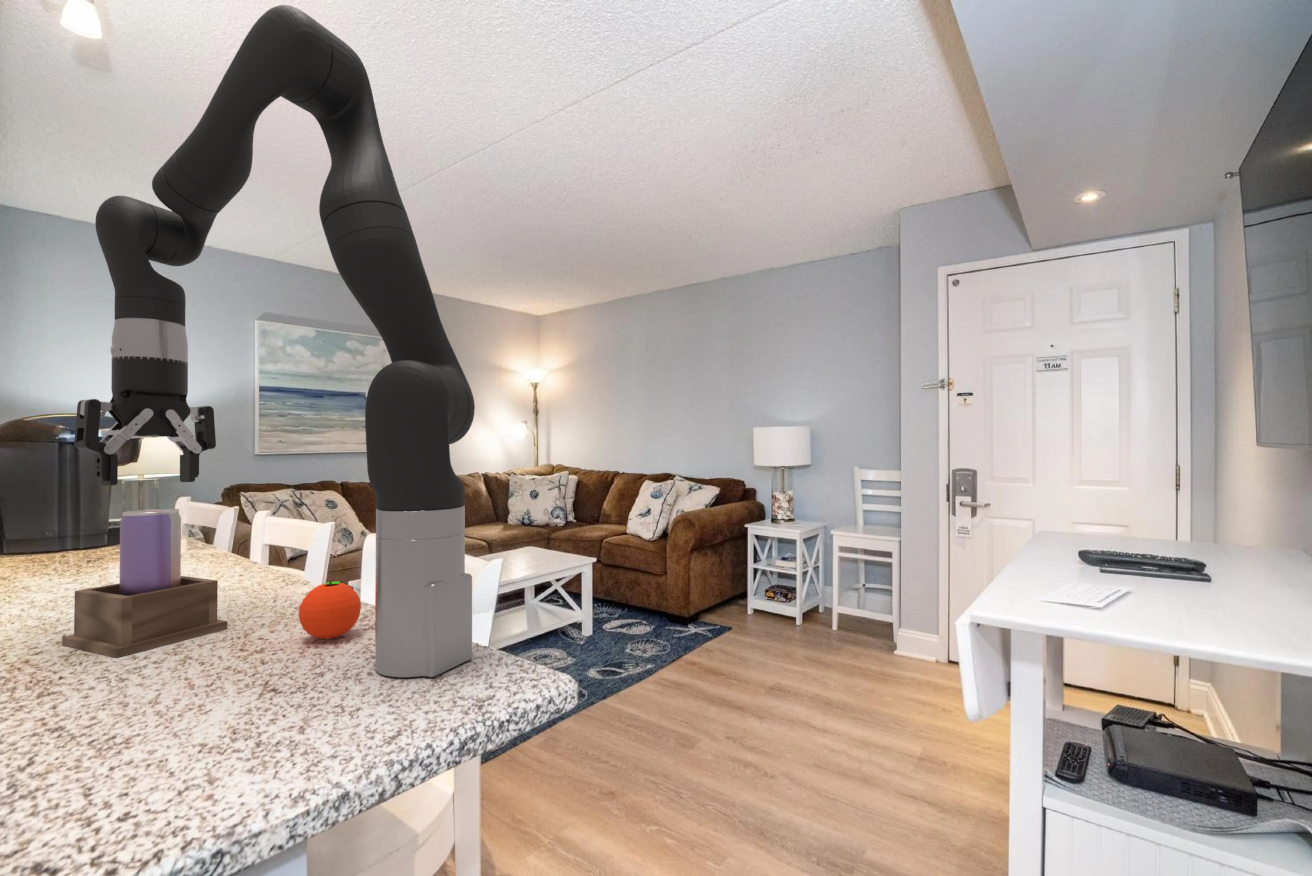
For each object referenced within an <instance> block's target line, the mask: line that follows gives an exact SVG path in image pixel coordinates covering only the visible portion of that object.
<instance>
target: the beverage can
mask: <svg viewBox="0 0 1312 876" xmlns="http://www.w3.org/2000/svg"><path fill="white" fill-rule="evenodd" d="M121 515H122V517H121V519H120V522H119V583H120V586H119V595H124V596H130V595H136V594H141V593H146V592H152V591H157V590H162V589H168V588H173V587H178V586H181V576H182V575H181V571H182V570H181V569H182V568H181V567H182V566H181V563H182V561H181V559H182V558H181V557H182V556H181V555H182V554H181V553H182V551H181V550H182V547H181V546H182V517H181V515H180V509H179V508H158V509H141V510H140V509H139V510H129V511H128V510H127V511H123V512H122V513H121Z"/></svg>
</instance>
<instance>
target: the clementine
mask: <svg viewBox="0 0 1312 876" xmlns="http://www.w3.org/2000/svg"><path fill="white" fill-rule="evenodd" d="M298 609H299V610H298V619H299V622H300V624H301V627H302V629H303V631H305V632H306V633H307V634H308V635H310V636H311V637H314V638H316V639H321V640H331V639H336V638H338V637H340V636H342V635H345V634H346V633H347V632H349V631H350V630H351V629H353V627H354V626H355V625H356V624H357V622H358V619H359V618H360V615H361V610H362V605H361V599H360V597H359V595H358V593H357V592H356V591H355V590H354V588H352V587H351V586H350V585H348V584H346V583H342V581H339V580H338V581H327V582H326V583H322V584H319V585H316V587H314V588H312V589H311V590H310V591H309V592H308V593H306V595H305V596H304V597H303V599H302V601H301V603H300V606H299V608H298Z"/></svg>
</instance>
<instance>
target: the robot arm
mask: <svg viewBox="0 0 1312 876" xmlns="http://www.w3.org/2000/svg"><path fill="white" fill-rule="evenodd" d="M368 75H369V74H368V72H367V70H366V67H365V65H364V63H363V62H362V60H361V58H360V56H359V55H358V54H357V52H355V50H354V49H352V48H351V46H349V45H348V44H347V43H346V42H345V41H343V40H342V39H341V38H339V37H338V36H337V35H336V34H335V33H333V32H332V31H330V30H329V29H328V28H326V27H325V26H324V25H322V24H321V23H320V22H318V21H317V20H315V18H313V17H311V16H310V15H308V14H307V13H306V12H304V11H302V10H301V9H299V8H297V7H294V6H293V5H288V4H279V5H277V6H273V7H271V8H269V9H268V10H267V11H265V13H263V14H262V15H261V16H260V17H259V18H257V20H256V22H255V23H254V24H253V25H252V26H251V28H250V30H249V31H248V33H247V34H246V36H245V38H244V39H243V41H242V43H241V44H240V46H239V48H238V50H237V52H236V54H235V55H234V57H233V59H232V61H231V63H230V65H229V66H228V68H227V70H226V72H225V73H224V75H223V77H222V79H221V81H220V82H219V85H218V86H217V88H216V90H215V92H214V94H213V95H212V98H211V99H210V101H209V104H207V105H208V106H207V107H206V109H205V111H204V112H203V114H202V116H201V118H200V119H199V122H198V123H197V124H196V126H195V127H194V129H193V130H192V131H191V132H190V134H189V135H188V136H187V138H186V139H185V140H184V141H183V142H182V143H181V144H180V145H179V147H178V148H177V149H176V150H175V151H174V152H173V153H172V155H171V156H170V157H169V158H168V159H167V160H166V161H165V163H163V165H162V166H161V167H160V168H159V169H158V170H157V171H156V173H155V174H154V176H153V177H152V180H151V187H152V188H151V189H152V191H153V193H154V195H155V197H157V199H158V201H159V202H161V203H162V204H163V206H165V207H166V208H168V209H165V208H163V207H160V206H157V205H154V204H152V203H148V202H146V201H143V200H139V199H138V198H134V197H130V196H126V195H114V196H111V197H108V198H107V199H105V200H104V201H103V202H102V203H101V204H100V206H99V207H98V210H97V211H96V214H95V231H96V236H97V239H98V243H99V245H100V248H101V250H102V251H101V252H102V253H103V256H104V259H105V262H106V265H107V268H108V271H109V275H110V279H111V282H112V283H113V288H114V323H113V328H112V334H111V346H110V354H111V385H110V386H111V388H110V389H111V394H112V397H111V400H109V402H108V401H107V402H106V401H100V399H96V398H92V399H91V398H90V399H81V400H79V401H78V402H77V404H76V405H77V407H76V417H75V418H76V419H75V428H74V429H75V430H74V440H73V441H74V442H73V445H74V448H76V449H77V450H83V451H87V452H90V453H93V455H94V457H95V461H94V465H95V469H94V471H95V473H94V476H95V479H96V481H97V482H98V481H99V482H100V485H101V486H105V487H106V486H107V487H109V486H117V485H118V482H119V481H118V471H119V469H118V466H119V464H118V463H119V462H118V460H119V459H118V458H119V457H118V456H119V455H118V454H115V453H116V452H117V451H118V450H119V449H120V448H121V447H122V446H123V444H125V443H126V442H127V441H129V440H130V439H132V438H133V437H155V438H158V437H159V438H161V437H163V438H165V437H167V439H168V440H170V441H171V442H172V443H174V444H175V445H176V447H177V448H178V449H179V450H180V452H182V454H179V481H180V482H181V483H194V482H195V480H196V478H198V477H199V475H200V454H201V453H202V452H204V451H208V450H213V449H215V448H216V446H217V440H216V439H217V438H216V427H215V423H216V422H215V411H214V409H215V408H213V407H212V406H210V405H203V406H201V405H200V406H189V404H188V401H187V398H188V397H187V396H188V393H189V391H188V390H189V386H188V385H189V369H188V368H189V351H188V350H189V344H188V337H187V330H186V307H187V306H186V305H187V304H186V301H187V300H186V293H185V289H184V288H183V287H182V285H180V284H179V283H178V282H176V281H174V280H172V279H170V278H168V277H165V276H164V275H162V274H160V273H159V272H157V271H156V270H155V269H154V267H153V265H152V264H151V262H155V263H159V264H163V265H165V266H171V267H182V266H186V265H189V264H191V263H193V262H195V261H197V259H198V258H199V257H200V256H201V254H202V252H203V250H204V247H205V244H206V241H207V238H208V235H209V233H210V231H211V229H212V226H213V224H214V221H215V220H216V217H217V215H218V214H219V213H220V212H221V211H222V210H223V209H224V208H225V207H226V206H228V204H229V203H230V202H231V201H232V200H233V199H234V198H235V197H236V196H237V195H238V193H239V192H240V191H241V190H242V189H243V188H244V186H245V185H246V183H247V181H248V179H249V177H250V174H251V171H252V166H253V156H254V155H253V154H254V149H253V148H254V133H255V128H256V124H257V121H258V120H259V118H260V116H261V115H262V113H263V112H264V111H265V109H267V108H268V107H269V106H270V105H271V104H272V103H273V102H275V101H276V100H278V99H279V98H280V97H281V98H283V99H285V100H287V101H289V102H290V103H291V104H293V105H295V106H297V107H299V108H300V109H302V110H305V111H306V112H308V113H310V114H311V116H313V117H314V118H315V120H316V122H317V123H318V124H319V127H320V128H321V131H322V133H323V136H324V139H325V141H326V145H327V147H328V151H329V152H328V153H329V155H330V162H331V165H330V168H329V172H328V175H327V176H326V178H325V179H326V180H325V181H324V185H323V186H322V191H321V193H320V197H319V207H318V208H319V210H318V211H319V212H318V213H319V218H320V222H321V226H322V229H323V232H324V235H325V238H326V241H327V244H328V248H329V250H330V254H331V256H332V259H333V262H334V263H335V267H336V269H337V271H338V273H339V275H340V277H341V278H342V280H343V282H344V283H345V285H346V287H347V288H348V290H349V291H350V293H351V295H353V298H355V300H356V301H357V303H358V304H359V306H360V307H361V308H362V310H363V311H364V313H365V314H366V316H367V317H368V319H369V320H370V321H371V323H372V324H373V326H374V327H375V328H376V330H377V332H378V334H379V335H380V337H381V339H382V341H383V344H384V345H385V347H386V350H387V353H388V355H389V358H390V361H391V362H390V363H389V364H387V365H385V366H383V367H382V368H381V369H380V370H379V371H377V373H376V375H375V376H374V377H373V379H372V381H371V383H370V385H369V387H368V390H367V394H366V399H365V409H364V411H365V412H364V418H365V419H364V420H365V422H364V423H365V424H364V427H365V444H366V445H365V446H366V447H365V448H366V449H365V451H366V464H367V466H366V467H367V469H366V470H367V476H368V480H369V483H370V486H371V489H372V490H373V492H374V497H375V508H376V509H375V596H374V597H375V602H374V603H375V604H374V605H375V610H374V611H375V612H374V613H375V618H374V619H375V620H374V621H375V623H374V625H375V631H374V632H375V633H374V634H375V641H374V642H375V646H374V647H375V656H374V661H375V663H374V664H375V665H374V666H375V667H374V668H375V670H376V672H377V673H378V674H380V675H382V676H387V677H391V678H414V677H415V678H416V677H428V678H435V677H436V676H439V675H440V674H442V673H445V672H447V671H448V670H450V669H453V668H455V667H458V666H459V665H461V664H464V663H465V662H468V661H469V660H472V658H473V576H472V574H470V573H467V572H466V571H465V570H466V569H465V568H466V566H465V565H466V558H465V557H466V555H465V554H466V553H465V552H466V546H465V545H466V544H465V543H466V538H465V535H466V532H465V531H466V521H465V520H466V511H465V510H466V506H465V504H466V491H465V484H464V482H463V480H462V479H461V478H459V476H457V474H456V473H455V471H454V469H453V466H452V462H451V454H450V453H451V452H450V450H451V449H450V445H453V444H455V443H457V442H459V441H460V440H462V439H463V438H464V437H465V436H466V435H467V433H468V432H469V430H470V428H471V427H472V425H473V421H474V417H475V410H476V409H475V408H476V407H475V398H474V395H473V392H472V388H471V386H470V384H469V381H468V379H467V377H466V375H465V373H464V371H463V369H462V366H461V364H460V362H459V360H458V357H457V356H456V353H455V352H454V349H453V347H452V345H451V343H450V342H451V341H450V340H449V338H448V335H447V333H446V330H445V329H444V325H443V324H442V320H441V318H440V314H439V312H438V308H437V304H436V300H435V297H434V294H433V292H432V289H431V285H430V284H431V283H430V282H429V278H428V276H427V272H426V270H425V266H424V264H423V260H422V257H421V254H420V250H419V246H418V243H417V240H416V237H415V235H414V231H413V228H412V224H411V221H410V220H409V216H408V213H407V210H406V208H405V205H404V203H403V200H402V198H401V195H400V191H399V189H398V185H397V182H396V179H395V176H394V173H393V169H392V166H391V163H390V160H389V157H388V154H387V151H386V147H385V144H384V141H383V136H382V134H381V133H382V132H381V128H380V123H379V120H378V119H379V118H378V114H377V110H376V105H375V100H374V96H373V90H372V87H371V82H370V78H369V76H368ZM150 261H151V262H150ZM107 412H108V414H109V415H110V416H111V417H112V418H113V419H114V420H115V423H114V424H113V425H112V426H111V427H110V428H109V429H108V430H107V431H106V432H105V433H104V437H103V436H102V437H103V438H101V440H100V441H99V434H100V425H101V422H100V421H101V419H103V418H105V416H106V413H107ZM188 417H190V419H191V421H192V422H193V423H194V434H193V433H192V431H191V430H190V429H189V428H188V426H187V425H186V424H185V423H184V422H185V421H186V419H188ZM194 435H195V437H194Z"/></svg>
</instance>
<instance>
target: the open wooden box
mask: <svg viewBox="0 0 1312 876" xmlns="http://www.w3.org/2000/svg"><path fill="white" fill-rule="evenodd" d="M218 581H219V580H215V579H208V578H200V577H199V578H198V577H192V576H187V575H186V576H184V575H181V586H178V587H173V588H168V589H162V590H157V591H152V592H146V593H141V594H136V595H130V596H124V595H119V586H120V582H119V583H114V584H110V585H109V584H107V585H102V586H96V587H90V588H85V589H78V590H74V608H73V609H74V612H73V613H74V619H73V620H74V621H73V623H74V625H73V634H68V635H66V636H62V637H61V640H62V641H61V646H65V647H69V648H73V649H78V650H81V651H85V652H90V653H93V654H97V655H102V656H103V655H104V656H108V657H112V658H116V659H117V658H118V659H119V658H121V657H125V656H129V655H134V654H137V653H140V652H144V651H147V650H152V649H155V648H159V647H160V648H161V647H163V646H167V645H171V644H175V643H178V642H182V641H186V640H189V639H194V638H198V637H200V636H205V635H209V634H213V633H215V632H216V633H217V632H221V631H225V630H227V629H228V620H222V619H218V600H219V599H218V593H219V591H218V588H219V587H218V586H219V585H218V584H219V583H218Z"/></svg>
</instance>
